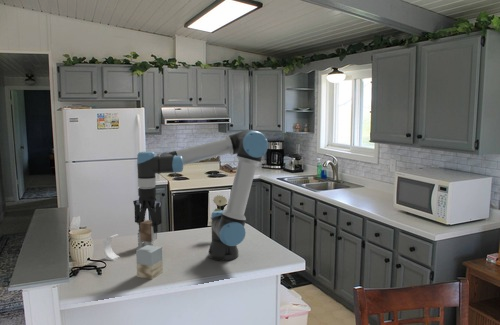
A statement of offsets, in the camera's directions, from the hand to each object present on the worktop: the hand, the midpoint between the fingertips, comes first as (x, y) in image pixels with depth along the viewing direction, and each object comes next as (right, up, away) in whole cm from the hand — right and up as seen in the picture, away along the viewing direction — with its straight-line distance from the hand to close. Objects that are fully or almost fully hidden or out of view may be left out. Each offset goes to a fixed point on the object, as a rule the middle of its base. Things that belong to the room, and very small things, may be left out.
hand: (148, 239), depth 180 cm
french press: (-11, -12, +38) cm, 41 cm away
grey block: (0, -10, +1) cm, 10 cm away
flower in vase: (+29, -10, +55) cm, 64 cm away
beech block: (0, -16, +2) cm, 16 cm away
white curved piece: (-24, -14, +22) cm, 36 cm away
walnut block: (0, 0, 0) cm, 0 cm away
